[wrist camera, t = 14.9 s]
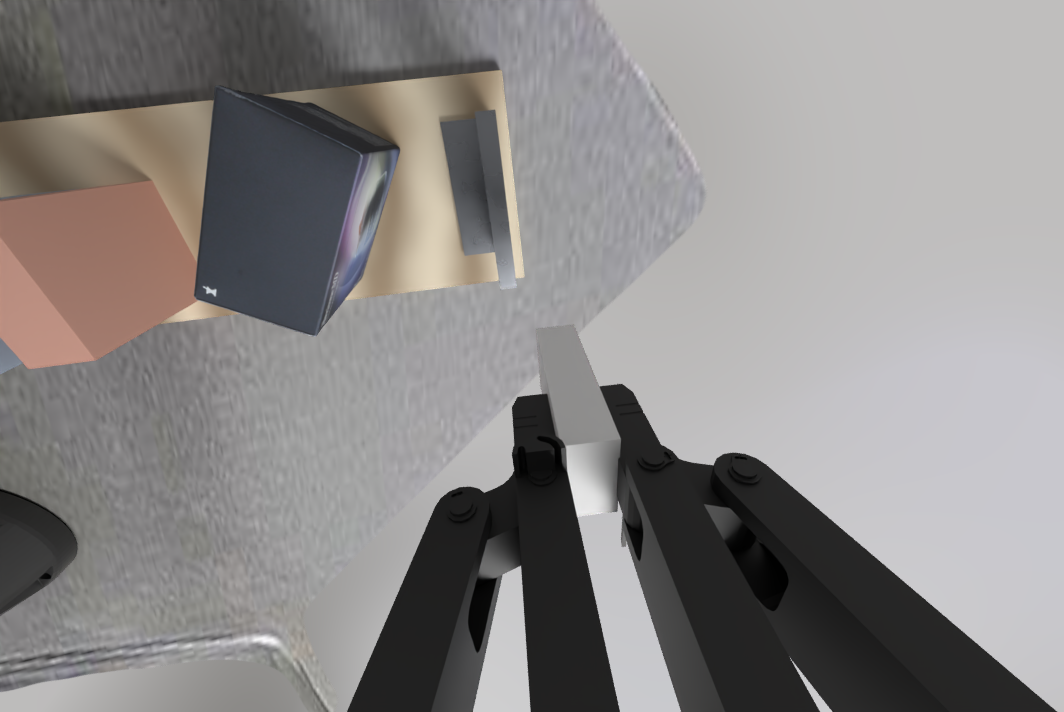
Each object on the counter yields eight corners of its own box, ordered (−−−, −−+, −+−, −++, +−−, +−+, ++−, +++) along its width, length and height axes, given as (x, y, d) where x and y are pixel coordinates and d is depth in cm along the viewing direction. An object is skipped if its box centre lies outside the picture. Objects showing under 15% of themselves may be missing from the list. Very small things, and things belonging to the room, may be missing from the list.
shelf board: (110, 326, 32) (99, 331, 31) (-33, 127, 24) (-52, 127, 24) (523, 273, 33) (524, 277, 32) (501, 72, 26) (501, 70, 25)
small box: (367, 283, 31) (319, 344, 22) (278, 249, 29) (185, 301, 20) (407, 148, 27) (367, 155, 18) (306, 98, 25) (203, 77, 16)
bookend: (464, 254, 31) (458, 294, 23) (440, 122, 26) (422, 117, 18) (508, 248, 31) (516, 287, 23) (492, 116, 26) (495, 109, 19)
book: (166, 297, 30) (28, 369, 21) (98, 186, 26) (-110, 214, 17) (212, 292, 30) (96, 360, 21) (152, 180, 26) (-26, 205, 17)
